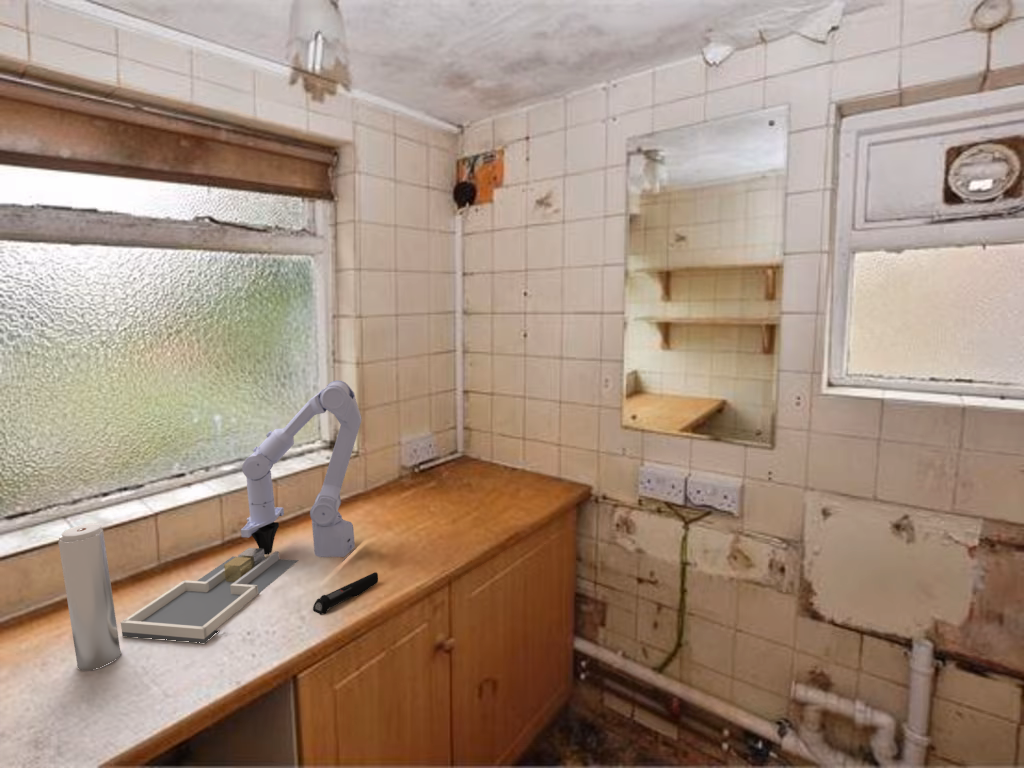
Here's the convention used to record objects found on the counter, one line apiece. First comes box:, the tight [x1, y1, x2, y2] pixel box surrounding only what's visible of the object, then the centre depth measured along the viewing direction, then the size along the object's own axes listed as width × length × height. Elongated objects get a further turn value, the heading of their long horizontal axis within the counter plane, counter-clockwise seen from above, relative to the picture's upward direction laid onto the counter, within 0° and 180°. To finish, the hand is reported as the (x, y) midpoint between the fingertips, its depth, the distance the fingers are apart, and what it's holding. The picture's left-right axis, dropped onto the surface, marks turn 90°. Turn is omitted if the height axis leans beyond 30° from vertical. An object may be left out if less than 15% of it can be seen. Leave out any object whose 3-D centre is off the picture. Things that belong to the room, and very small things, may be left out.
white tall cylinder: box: [57, 523, 122, 671], centre depth 102 cm, size 6×6×25 cm
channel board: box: [120, 551, 299, 644], centre depth 125 cm, size 18×33×3 cm, turn 170°
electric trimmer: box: [312, 571, 379, 616], centre depth 123 cm, size 4×16×3 cm, turn 141°
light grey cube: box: [237, 547, 266, 569], centre depth 136 cm, size 4×4×4 cm
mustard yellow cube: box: [224, 556, 252, 582], centre depth 131 cm, size 4×4×4 cm
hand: (266, 553), depth 142 cm, fingers closed
